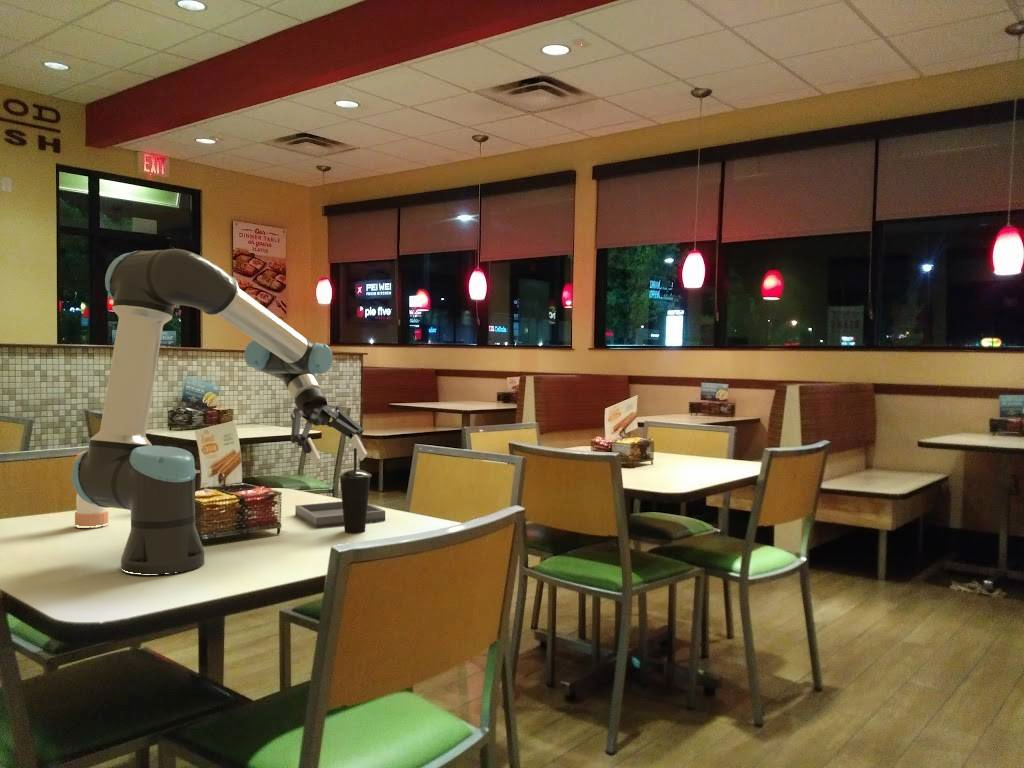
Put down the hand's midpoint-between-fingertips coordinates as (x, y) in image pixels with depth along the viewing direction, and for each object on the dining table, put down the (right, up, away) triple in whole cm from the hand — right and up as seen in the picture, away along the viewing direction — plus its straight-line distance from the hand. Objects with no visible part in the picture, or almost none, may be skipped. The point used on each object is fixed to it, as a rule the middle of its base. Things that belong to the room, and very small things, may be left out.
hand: (341, 459), depth 194 cm
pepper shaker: (-60, -16, -2) cm, 63 cm away
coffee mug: (-49, -15, +21) cm, 55 cm away
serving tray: (-3, -16, +10) cm, 19 cm away
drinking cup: (+4, -17, -5) cm, 18 cm away
